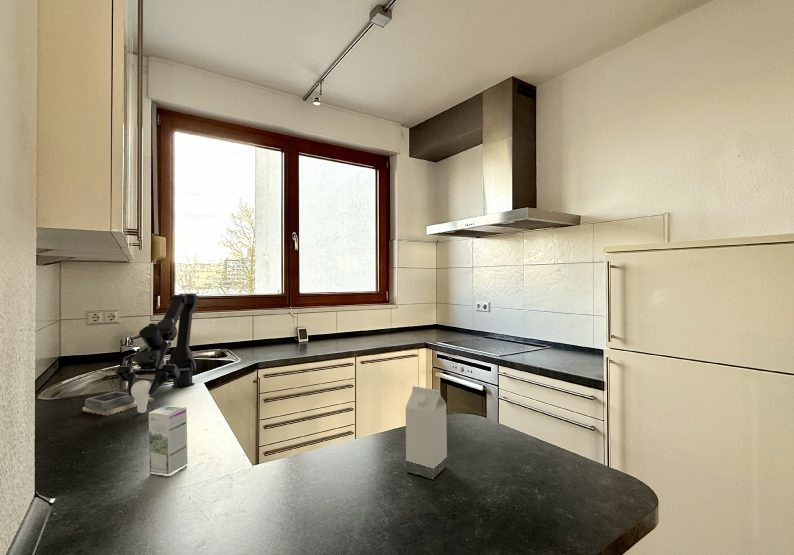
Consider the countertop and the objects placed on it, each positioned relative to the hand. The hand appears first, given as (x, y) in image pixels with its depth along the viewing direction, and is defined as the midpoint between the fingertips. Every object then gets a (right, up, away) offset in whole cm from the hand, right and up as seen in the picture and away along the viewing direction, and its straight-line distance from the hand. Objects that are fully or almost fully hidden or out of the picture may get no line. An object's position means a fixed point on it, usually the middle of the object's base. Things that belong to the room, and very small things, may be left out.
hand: (139, 394), depth 129 cm
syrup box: (+32, -6, -38) cm, 50 cm away
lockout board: (-13, -7, +9) cm, 17 cm away
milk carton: (+93, -6, -39) cm, 101 cm away
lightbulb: (0, -7, +1) cm, 7 cm away
